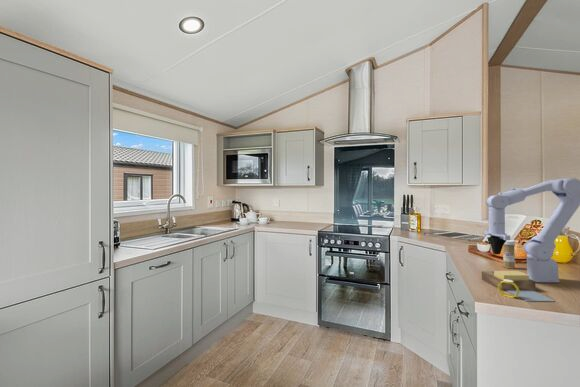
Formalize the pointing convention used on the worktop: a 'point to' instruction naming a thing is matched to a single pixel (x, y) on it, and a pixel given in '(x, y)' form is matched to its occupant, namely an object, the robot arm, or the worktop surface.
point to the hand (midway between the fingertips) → (496, 253)
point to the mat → (531, 296)
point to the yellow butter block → (511, 275)
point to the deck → (493, 280)
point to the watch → (509, 283)
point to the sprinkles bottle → (509, 254)
